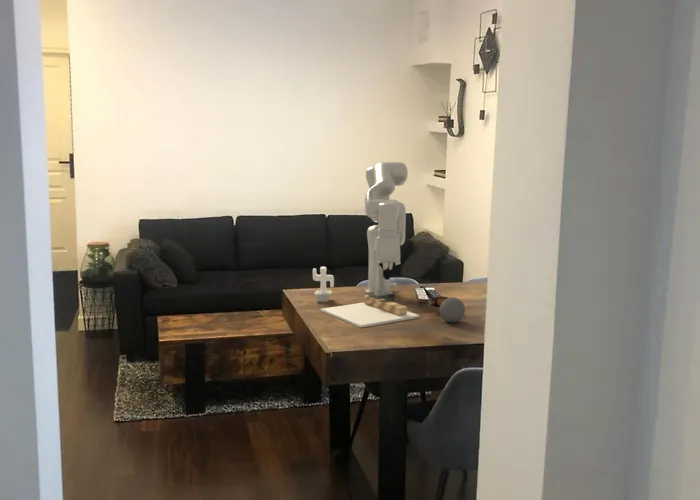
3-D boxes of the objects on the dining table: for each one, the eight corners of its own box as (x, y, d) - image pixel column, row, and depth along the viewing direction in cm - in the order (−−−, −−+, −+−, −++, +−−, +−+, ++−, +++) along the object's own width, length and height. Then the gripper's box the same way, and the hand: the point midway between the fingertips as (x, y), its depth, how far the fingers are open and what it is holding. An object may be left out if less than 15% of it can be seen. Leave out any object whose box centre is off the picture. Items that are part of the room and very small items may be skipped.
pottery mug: (429, 317, 311) (427, 297, 314) (435, 322, 320) (433, 303, 323) (457, 312, 307) (455, 292, 310) (463, 317, 316) (461, 298, 319)
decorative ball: (447, 317, 309) (448, 293, 307) (469, 321, 303) (470, 297, 301) (434, 322, 301) (435, 297, 300) (456, 326, 295) (456, 301, 293)
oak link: (362, 302, 327) (362, 291, 326) (372, 301, 330) (372, 289, 329) (397, 315, 306) (397, 303, 305) (408, 313, 309) (408, 301, 308)
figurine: (332, 302, 332) (333, 269, 330) (311, 301, 333) (311, 268, 331) (334, 298, 339) (334, 265, 337) (313, 298, 340) (313, 265, 338)
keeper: (390, 305, 324) (390, 291, 323) (394, 307, 321) (394, 293, 320) (373, 308, 319) (373, 294, 318) (377, 309, 316) (377, 295, 315)
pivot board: (377, 302, 333) (377, 300, 333) (419, 317, 308) (419, 315, 308) (320, 311, 317) (320, 308, 317) (360, 327, 292) (360, 325, 292)
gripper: (404, 231, 303) (402, 276, 307) (367, 232, 301) (366, 277, 305) (408, 234, 296) (407, 280, 300) (370, 235, 294) (370, 281, 297)
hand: (386, 278), depth 302 cm, fingers closed
